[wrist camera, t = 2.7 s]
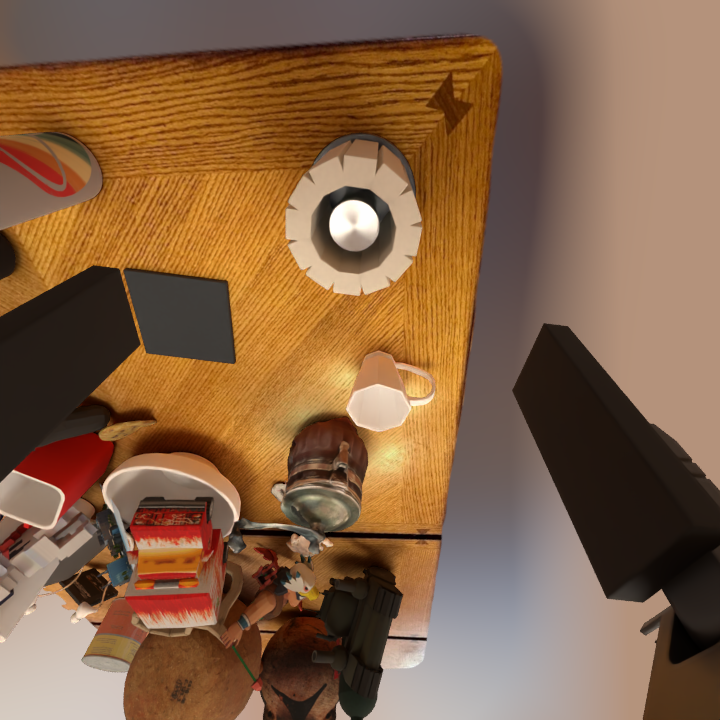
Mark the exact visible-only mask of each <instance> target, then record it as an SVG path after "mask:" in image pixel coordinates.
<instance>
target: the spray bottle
mask: <svg viewBox="0 0 720 720" xmlns="http://www.w3.org/2000/svg"><path fill="white" fill-rule="evenodd" d="M101 187H102V173H101V169H100V167H99V164H98V162H97V160H96V159H95V157H94V156H93V154H92V153H91V152H90V151H89V149H88V148H87V147H86V146H85V145H83V144H82V143H81V142H80V141H78V140H77V139H75V138H74V137H72V136H69V135H67V134H63V133H59V132H43V133H31V134H20V135H9V136H0V230H2V229H5V228H8V227H11V226H14V225H17V224H20V223H23V222H26V221H29V220H32V219H35V218H38V217H41V216H44V215H47V214H50V213H52V212H55V211H58V210H61V209H64V208H67V207H70V206H73V205H76V204H79V203H82V202H85V201H87V200H90V199H92V198H94V197H95V196H96V195H97V194H98V193H99V192H100V190H101Z"/></svg>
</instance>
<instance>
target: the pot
mask: <svg viewBox="0 0 720 720" xmlns="http://www.w3.org/2000/svg"><path fill="white" fill-rule="evenodd" d="M225 596H226V594H224V593H222V597H221V601H222V600H223V598H224V597H225ZM246 608H247V606H246V605H245V604H244V603H243V602H241V601H240V600H238V599H236V600H235V602H234V603H233V605H232V606H231V608H230V610H229V612H228V615H227V617H226V620H225V622H224V625H225V626H226V628H227V629H228V627H230V626H231V625H232V624H233V623H234V622H237V621H238V620H239V617H240V616H241V614H242V613H243V612H244V611H245V610H246ZM234 643H235V642H234ZM225 647H226V646H225V645H224V644H223V643H222V642H221V641H220V640H219V639H218V638H217V637H216V636H214V635H213V634H212V633H211V632H209V631H208V630H204V629H198V628H193V629H192V631H191V634H189V635H187V636H178V637H171V636H170V637H167V636H162V635H157V634H151V633H149V634H148V635H147V637H146V638H145V639H144V641H143V642H142V644H141V645H140V647H139V648H138V650H137V652H136V654H135V656H134V658H133V660H132V662H131V664H130V667H129V670H128V673H127V677H126V681H125V688H124V703H123V704H124V713H125V717H126V720H234V719H235V718H236V717H237V716H238V715H239V714H240V713H241V711H242V710H243V709H244V708H245V706H246V704H247V702H248V700H249V698H250V696H251V694H252V692H253V690H254V689H253V688H251V686H252V684H253V683H254V681H253V679H252V678H251V676H250V675H249V673H248V672H247V670H246V669H245V667H244V665H243V664H242V662H241V661H240V659H239V658H238V656H237V655H236V653H235V652H234V650H233V649H232V647H228V648H227V649H226V648H225ZM236 650H237V651H238V653H239V654H240V656H241V657H242V659H243V660H244V662H245V663H246V665H247V666H248V668H249V670H250V671H251V673H252V674H253V676H254V677H255V679H258V677H259V674H260V673H261V672H262V670H263V662H262V661H261V651H262V644H261V636H260V632H259V628H258V626H257V623H256V622H255V623H254V624H252V625H251V628H250V629H249V630H248V631H247V630H245V629H244V630H243V632H242V636H241V639H240V641H239V643H238V645H237V646H236Z"/></svg>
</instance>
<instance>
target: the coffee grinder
mask: <svg viewBox="0 0 720 720" xmlns="http://www.w3.org/2000/svg"><path fill="white" fill-rule="evenodd" d="M367 466H368V453H367V450H366V448H365V445H364V443H363V441H362V439H361V438H359V437H358V434H357V429H356V428H355V427H354V426H353V425H352V423H351V422H350V420H349V418H348V417H342V418H334V419H331V420H329V421H324V422H320V421H318V422H316V423H313V424H311V425H309V426H307V427H305V428H304V429H303V430H302V431H301V432H300V433H299V434H298V435H297V436H296V437H295V439H294V440H293V442H292V446H291V448H290V453H289V457H288V482H287V485H286V489H285V493H284V496H283V499H282V501H281V510H282V512H283V513H284V514H285V515H286V517H287V518H288V519H290V520H291V521H292V522H293V523H295V524H297V525H300V526H296V525H288V524H278V523H256V522H251V521H250V520H247V519H245V518H243V517H242V519H241V520H239V521H235V522H234V525H233V528H232V531H231V534H230V535H229V541H228V543H227V544H228V545H229V547H230V548H231V549H232V550H233V553H239V552H241V551H242V550H243V549H244V548H246V544H245V543H244V542H243V539H242V535H241V533H240V528H241V529H249V530H252V529H263V528H278V529H284V530H288V531H294V532H296V533H298V534H300V535H302V536H303V537H304V538H305V539H306V540H308V541H310V545H309V547H308V550H309V551H310V552H311V553H313V554H319V553H320V550H319V549H320V548H319V543H320V542H322V541H323V540H324V539H325V534H324V532H335V531H340V530H344V529H346V528H348V527H350V526H352V525H353V524H354V523H355V522H356V521H357V520H358V518H359V516H360V512H361V499H362V483H363V480H364V477H365V473H366V470H367ZM302 526H304V527H302Z"/></svg>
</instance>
